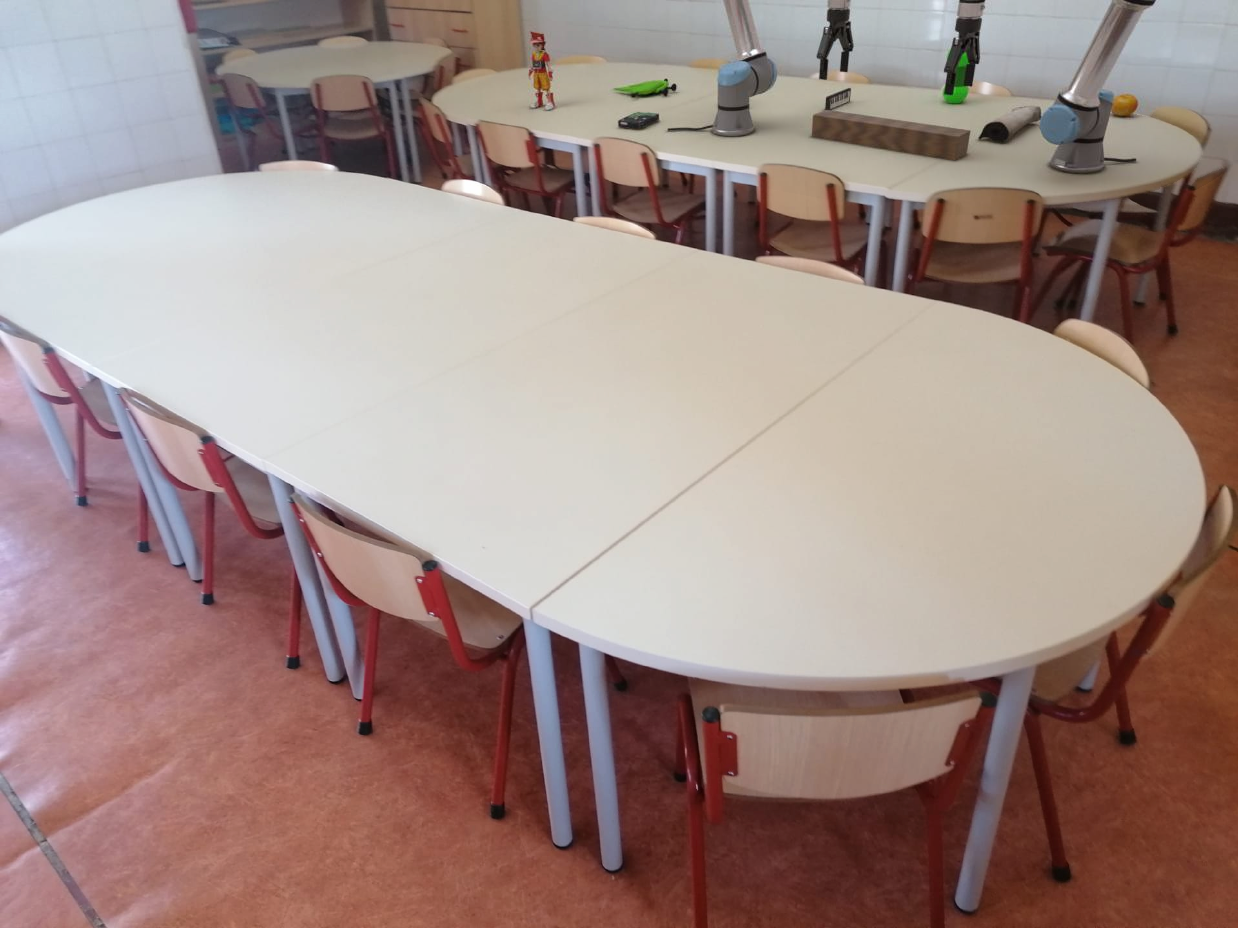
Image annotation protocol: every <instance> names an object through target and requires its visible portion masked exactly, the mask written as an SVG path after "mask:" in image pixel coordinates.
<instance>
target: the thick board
mask: <svg viewBox="0 0 1238 928" xmlns="http://www.w3.org/2000/svg"><path fill="white" fill-rule="evenodd" d="M971 131H972V130H970V129H964V128H957V127H949V126H942V125H936V124H928V123H922V122H914V121H909V120H908V121H907V120H902V119H901V120H900V119H894V118H886V117H880V116H872V115H867V114H860V113H851V112H845V111H838V110H833V109H832V110H831V109H830V110H825V109H824V110H822V111H819V112H817V113H814V114H812V126H811V138H816V139H823V140H829V141H834V142H841V143H847V144H853V145H858V146H865V147H869V148H870V147H871V148H877V149H883V150H884V149H885V150H889V151H895V152H900V153H901V152H902V153H907V154H911V155H919V156H925V157H932V158H936V159H937V158H938V159H944V160H949V161H957V160H958V159H960V158H962V157H964V156H966V155H967V154H968V150H969V149H968V148H969V143H970V136H971Z"/></svg>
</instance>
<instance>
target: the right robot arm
mask: <svg viewBox="0 0 1238 928" xmlns="http://www.w3.org/2000/svg"><path fill="white" fill-rule="evenodd" d="M1156 1H1157V0H1111V1H1110V4H1109V6H1108V7H1107V10H1106V12H1105V13H1104V15H1103V18H1102V19H1101V22H1100V24H1099V26H1098V28H1097V29H1096V31H1095V33H1094V35H1093V37H1092V39H1091V41H1090V44H1088V47H1087V49H1086V51H1085V53H1084V55H1083V57H1082V59H1081V61H1080V63H1079V65H1078V67H1077V68H1076V71H1075V73H1074V75H1073V77H1072V79H1071V81H1070V82H1069V85H1067V86H1065V87H1063V88H1061V89H1060V91H1059V92H1058V94H1057V96H1056V98H1055V99H1054V102H1053V104H1052V105H1051V106H1049V107H1047V109H1046V110H1044V112H1043V113H1042V114H1041V116H1042V117H1041V119H1040V120H1039V131H1040V133H1041V135H1042V138H1044V140H1045V141H1046V142H1048V143H1049V144H1051V145H1054V146H1057V147H1056V149H1055V151H1054V153H1053V154H1052V156H1051V159H1050V163H1049V166H1050V167H1051V168H1052V169H1054V170H1057V171H1059V172H1064V173H1070V174H1093V173H1097V172H1101V171H1102V170H1103V169H1104V166H1105V162H1115V163H1132V162H1133V163H1134V162H1136V161H1137V158H1136V157H1134V158H1117V157H1105V152H1104V141H1105V140H1104V139H1105V135H1106V131H1107V128H1108V124H1109V120H1110V117H1111V112H1112V111H1111V109H1112V105H1113V100H1114V99H1115V94H1114V92H1113V91H1111V90H1108V89H1103V87H1104V85H1105V84H1106V82H1107V80H1108V78H1109V76H1110V75H1111V73H1112V70H1113V69H1114V67H1115V65H1116V63H1117V61H1118V60H1119V57H1120V55H1121V54H1122V52H1123V50H1124V48H1125V46H1126V45H1127V43H1128V41H1129V39H1130V37H1131V35H1132V33H1133V32H1134V30H1135V28H1136V26H1137V24H1138V22H1139V21H1140V18H1141V16H1142V15H1143V13H1144V11H1146V10H1147V9H1150V8H1151V7H1153V6H1154V5H1155V3H1156ZM985 3H986V0H958V6H957V12H956V16H957V17H956V20H955V26H954V31H955V32H956V33H958V35H959V36H957V37H956V36H955V37H953V38H952V42H951V47H950V49H951V50H950V49H949V50H950V53H949V56H948V59H947V58H946V62H945V64H944V68H943V73H946V78H945V85H944V87H945V90H944V94H945V95H953V92H954V86H955V79H956V73H955V71H956V69H957V67H958V64H959V62H960V60H961V58H962V55H963V54H964V53H965V52H966V55H967V59H968V63H970V64H967V65H966V71H965V78H964V84H963V86H968V87H971V88H972V87H973V84H974V77H975V73H976V72H975V71H976V65H979V64H980V60H981V49H980V47H981V45H980V35H981V28H982V22H983V18H982V16H983V15H984V10H985V9H986V6H985Z"/></svg>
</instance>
